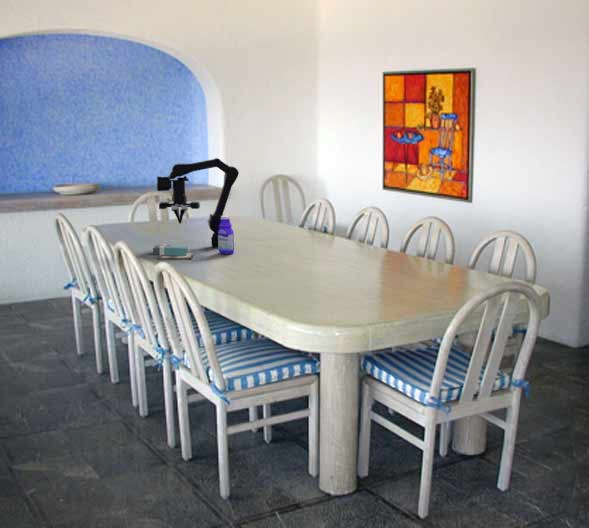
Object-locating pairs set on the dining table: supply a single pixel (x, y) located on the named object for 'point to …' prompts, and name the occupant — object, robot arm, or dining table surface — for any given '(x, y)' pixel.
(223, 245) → the bottle
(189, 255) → the wooden picture frame
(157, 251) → the button base
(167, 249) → the teal and white bar
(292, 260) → the dining table surface
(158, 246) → the button
